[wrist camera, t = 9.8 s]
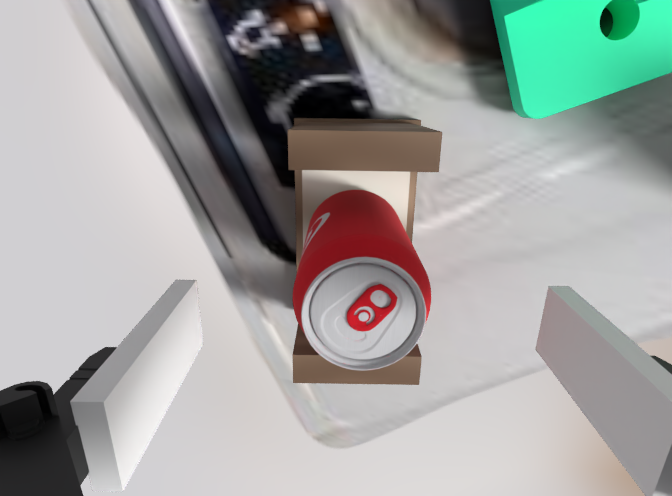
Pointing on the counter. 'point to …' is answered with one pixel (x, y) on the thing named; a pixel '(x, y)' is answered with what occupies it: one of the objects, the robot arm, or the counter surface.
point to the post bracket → (357, 174)
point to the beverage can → (360, 283)
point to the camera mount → (579, 50)
